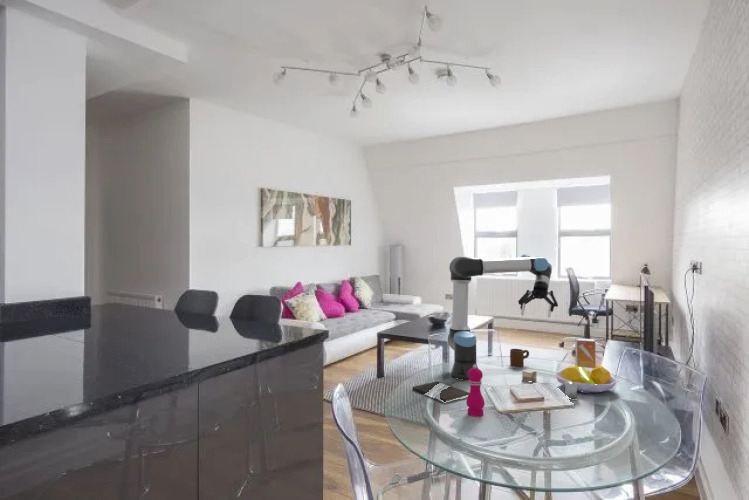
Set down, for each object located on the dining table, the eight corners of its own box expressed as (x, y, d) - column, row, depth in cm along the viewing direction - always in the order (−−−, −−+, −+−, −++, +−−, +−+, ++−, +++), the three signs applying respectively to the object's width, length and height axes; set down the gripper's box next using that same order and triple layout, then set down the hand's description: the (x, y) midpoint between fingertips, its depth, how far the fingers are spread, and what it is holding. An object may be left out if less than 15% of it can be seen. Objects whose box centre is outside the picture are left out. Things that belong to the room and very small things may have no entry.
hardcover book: (437, 385, 210) (437, 381, 210) (471, 398, 191) (471, 393, 191) (412, 391, 201) (412, 386, 201) (445, 405, 182) (445, 399, 182)
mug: (525, 363, 253) (525, 347, 253) (532, 366, 245) (532, 350, 246) (507, 364, 250) (507, 348, 250) (514, 367, 243) (514, 351, 243)
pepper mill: (485, 411, 172) (484, 363, 172) (483, 418, 165) (483, 367, 166) (467, 409, 174) (467, 361, 175) (465, 415, 167) (464, 365, 168)
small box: (577, 367, 202) (576, 340, 202) (575, 364, 208) (575, 337, 208) (596, 368, 199) (595, 341, 199) (593, 365, 205) (593, 338, 205)
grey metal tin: (570, 400, 185) (570, 385, 185) (562, 397, 190) (562, 381, 190) (579, 399, 186) (579, 384, 187) (571, 396, 191) (571, 381, 191)
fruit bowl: (617, 401, 185) (617, 375, 185) (552, 391, 198) (551, 368, 198) (616, 384, 209) (616, 362, 209) (558, 377, 222) (557, 356, 223)
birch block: (530, 382, 213) (530, 372, 214) (522, 380, 218) (522, 370, 218) (536, 380, 216) (536, 371, 216) (528, 378, 220) (528, 369, 221)
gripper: (566, 290, 229) (561, 321, 216) (520, 288, 243) (513, 317, 230) (564, 281, 224) (559, 311, 212) (517, 280, 239) (510, 308, 226)
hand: (535, 314), depth 221 cm, fingers open, 13 cm apart
